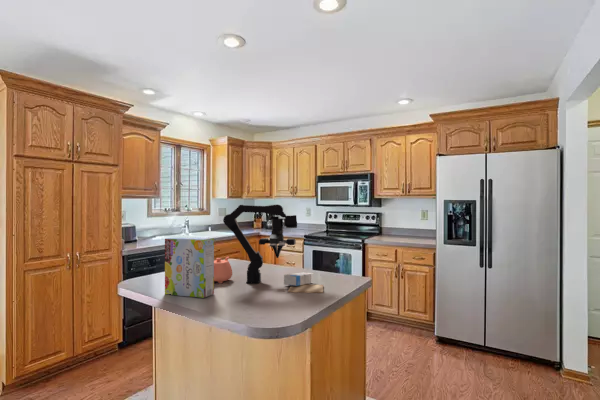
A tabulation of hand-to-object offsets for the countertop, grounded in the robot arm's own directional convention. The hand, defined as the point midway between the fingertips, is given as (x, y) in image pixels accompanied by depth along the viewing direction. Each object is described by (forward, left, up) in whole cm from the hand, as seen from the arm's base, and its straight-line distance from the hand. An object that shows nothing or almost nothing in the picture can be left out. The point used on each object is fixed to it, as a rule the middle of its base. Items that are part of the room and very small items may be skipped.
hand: (277, 258), depth 176 cm
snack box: (-36, -27, -13) cm, 47 cm away
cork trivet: (+16, -14, -12) cm, 25 cm away
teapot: (-31, -1, -13) cm, 34 cm away
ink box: (+8, -11, -9) cm, 16 cm away
